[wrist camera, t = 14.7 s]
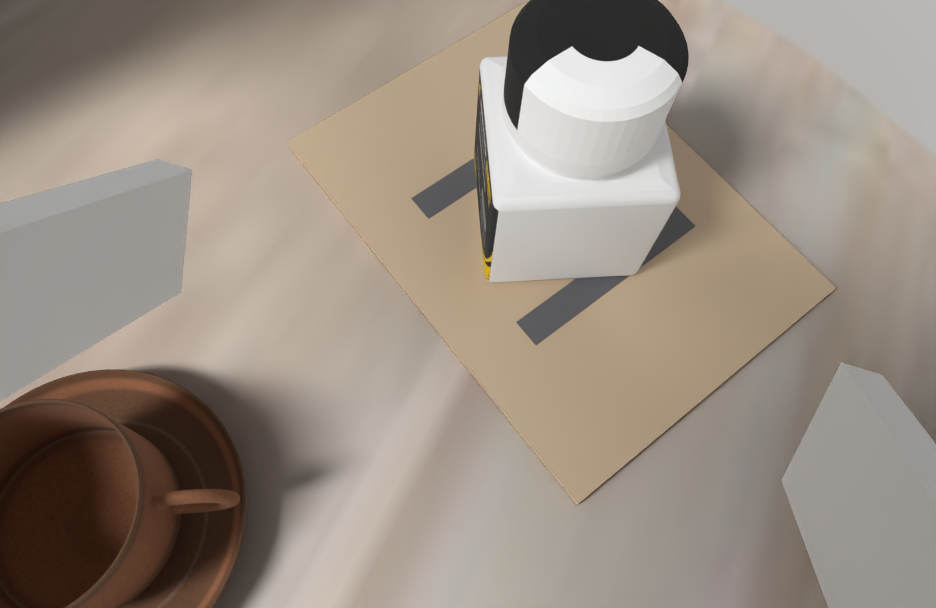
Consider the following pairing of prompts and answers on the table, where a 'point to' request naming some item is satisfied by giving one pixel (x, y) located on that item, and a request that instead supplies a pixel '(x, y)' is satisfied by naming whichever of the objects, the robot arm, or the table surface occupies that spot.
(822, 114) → the table surface
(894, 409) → the robot arm
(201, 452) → the cup and saucer
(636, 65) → the medicine bottle
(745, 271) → the letter card
